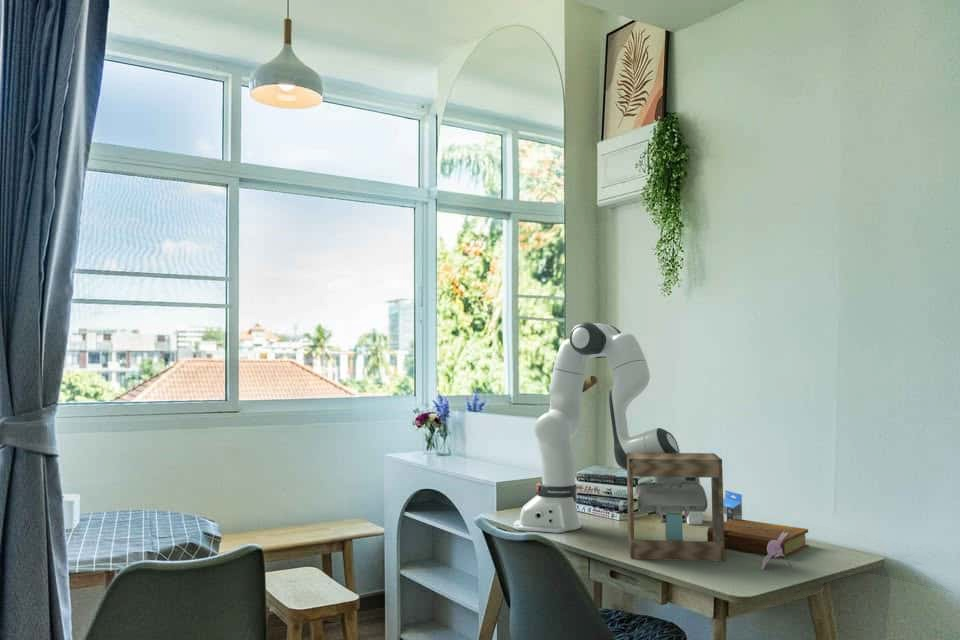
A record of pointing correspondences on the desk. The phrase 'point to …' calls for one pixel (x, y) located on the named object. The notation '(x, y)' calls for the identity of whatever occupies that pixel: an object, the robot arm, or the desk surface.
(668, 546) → the walnut cubby
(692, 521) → the ink cartridge box
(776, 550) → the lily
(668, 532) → the teal block
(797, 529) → the diary
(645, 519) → the desk surface
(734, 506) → the label tape cartridge
